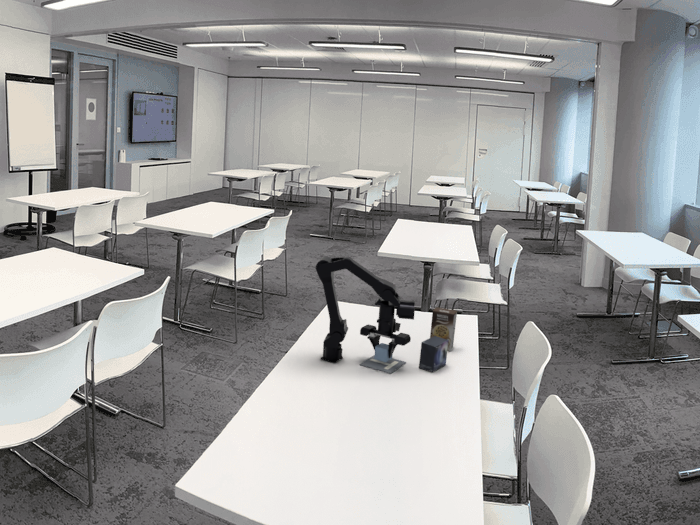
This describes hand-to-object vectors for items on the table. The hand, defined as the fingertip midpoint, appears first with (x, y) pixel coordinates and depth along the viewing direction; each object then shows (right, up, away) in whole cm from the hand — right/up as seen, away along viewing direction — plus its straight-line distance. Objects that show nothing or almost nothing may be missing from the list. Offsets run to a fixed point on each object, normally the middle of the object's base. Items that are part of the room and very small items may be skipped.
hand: (383, 356), depth 220 cm
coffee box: (+25, 0, +22) cm, 33 cm away
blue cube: (0, -1, 0) cm, 1 cm away
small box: (+19, -4, +1) cm, 19 cm away
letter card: (0, -3, +1) cm, 3 cm away
